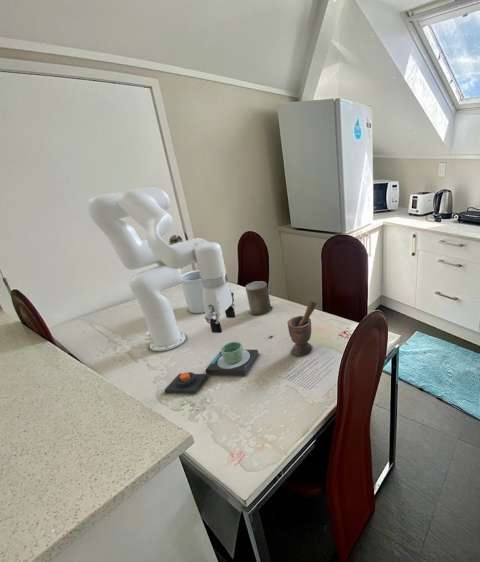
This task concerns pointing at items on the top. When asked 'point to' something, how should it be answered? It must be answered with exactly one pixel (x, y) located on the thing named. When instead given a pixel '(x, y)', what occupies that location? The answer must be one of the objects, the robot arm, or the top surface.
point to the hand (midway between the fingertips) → (224, 324)
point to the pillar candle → (258, 297)
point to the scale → (232, 365)
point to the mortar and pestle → (301, 330)
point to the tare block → (186, 384)
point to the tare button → (184, 377)
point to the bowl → (232, 352)
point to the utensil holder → (193, 291)
